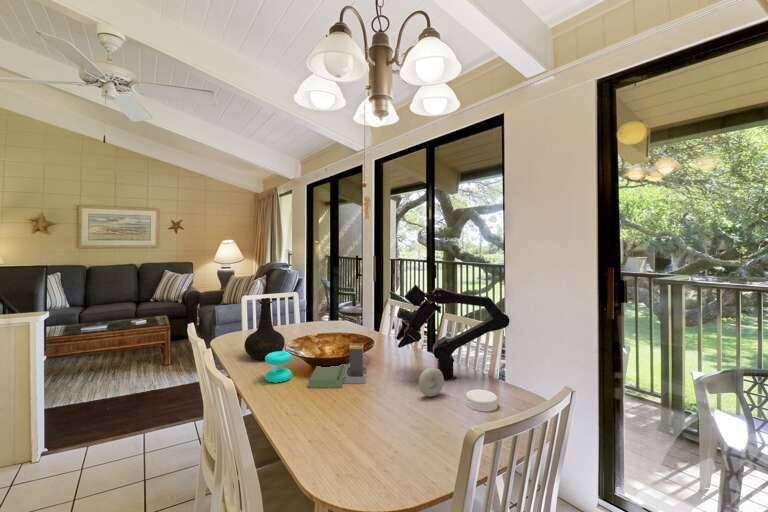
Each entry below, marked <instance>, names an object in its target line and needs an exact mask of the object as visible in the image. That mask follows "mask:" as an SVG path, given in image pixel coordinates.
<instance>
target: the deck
mask: <svg viewBox="0 0 768 512" xmlns="http://www.w3.org/2000/svg"><path fill="white" fill-rule="evenodd" d="M367 367H368V366H365V365H363V374H367V373H368V372H367V371H368V370H367ZM349 374H350V366H348V363H347V364H341V365H339V366H330V367H321V366H317V365H316V367H315V368H314V371H313V372H312V373H311V376H310V378H309V379H308V388H309V387H311V388H310V389H319V388H320V389H325V388H326V389H331V388H332V389H335V388H338V389H340V388H343V385H344V384H346V385H347V384H366V375H363V376H350V375H349Z"/></svg>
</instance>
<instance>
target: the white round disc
mask: <svg viewBox="0 0 768 512" xmlns="http://www.w3.org/2000/svg"><path fill="white" fill-rule="evenodd" d="M498 399H499V398H498V396H497V395H496V393H494V392H492V391H490V390H485V389H471V390H469V391H467V392H466V394H465V400H466V401H465V404H466V406H467V407H468V408H469V409H472V410H474V411H477V412H484V413H485V412H486V413H487V412H493V411H496V409H497V408H498V406H499V405H498V403H499V401H498Z"/></svg>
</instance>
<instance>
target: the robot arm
mask: <svg viewBox="0 0 768 512" xmlns="http://www.w3.org/2000/svg"><path fill="white" fill-rule="evenodd" d="M403 298H404V299H406V301H408V303H410V304H411V305H412V306H414V307H416V306H417V307H418V308H417V309H414V310H413V311H410V310H408V309H405V308H403V307H399V308H398V309H397V310H398V311H397V313H396V317H397V318H398V319H401V327H400V329H399V331H398V333H397V335H396V337H395V339H396V340H397V341H399V340H400V341H399V343H398V344H397V348H398V349H401V348H403V347H405V346H408V345H411V344H413V343H418V342H420V341H421V340H422V333H421V332H420V331H422V329H421V328H422V327H424V325H426V324H428V322H429V321H428V320H429V319H430V318H431V317H432V316H433V315H434V314H435V312H438V313H439V314H441V313H442V306H441V305H448V304H449V305H450V304H461V305H470V306H477V307H481V308H483V307H484V308H485V310H486V311H487V313H488V314H489V315H488V316H487V317H486V318H485V319H484V320H483V321H482V322H480V323H478V324H476V325H474V326H473V327H471V328H468V329H467V330H465V331H462V332H461V333H459V334H457V335H455V336H454V337H452V338H451V337H450V338H446V336H445V335H444V336H443V337H441V338H440V339H437V340H436V341H435V343H434V344H433V346H432V352H433V355H434V357H435V359H436V360H437V367H436V368H437V369H439V370H440V371H441V372H442V374H443V377H444V382H445V381H448V380H454V379H457V376H456V375H454V363H455V358H454V357H453V353H454V352H455V351H457V349H459V348H461V347H462V346H464V345H467V344H468V343H470V342H472V341H474V340H476V339H478V338H479V337H482V336H484V335H485V334H486V335H487V333H490V332H495V331H499V330H503V329H506V328H507V327H508V326H509V325H510V317H509V316H508V315H507V314H506V313H504V312H503V311H501V310H500V309H499V307H498V306H497V305H496V303H494V302H493V298H490V297H489V296H482V295H474V294H466V293H459V292H454V291H451V290H448V289H445V288H443V287H435V288H434V289H433V290H432V291H426V292H424V291H423V290H422V289H421V288H419V286H418V285H417V284H414V285H413V287H411V288H410V289H409V290H408V291H407V292H406V294H404V296H403ZM437 304H438V305H437Z"/></svg>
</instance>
